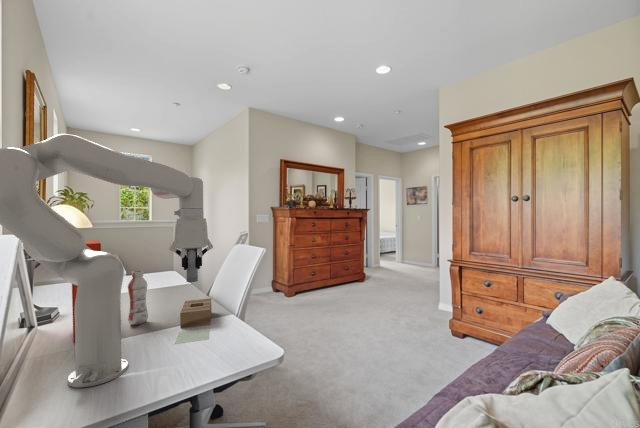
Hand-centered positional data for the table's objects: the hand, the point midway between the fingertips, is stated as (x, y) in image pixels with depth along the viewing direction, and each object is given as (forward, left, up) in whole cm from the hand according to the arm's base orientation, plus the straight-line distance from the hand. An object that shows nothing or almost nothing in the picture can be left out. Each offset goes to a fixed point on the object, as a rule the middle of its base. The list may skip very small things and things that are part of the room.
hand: (192, 268), depth 99 cm
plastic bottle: (+21, +21, -23) cm, 38 cm away
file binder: (+18, +36, -23) cm, 46 cm away
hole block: (+17, 0, -23) cm, 29 cm away
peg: (0, 0, -4) cm, 4 cm away
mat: (0, 0, -23) cm, 23 cm away
